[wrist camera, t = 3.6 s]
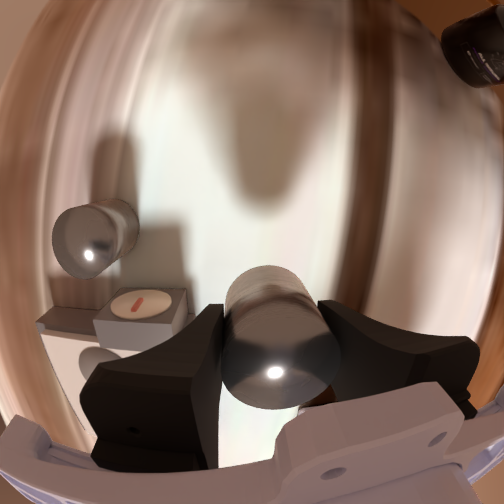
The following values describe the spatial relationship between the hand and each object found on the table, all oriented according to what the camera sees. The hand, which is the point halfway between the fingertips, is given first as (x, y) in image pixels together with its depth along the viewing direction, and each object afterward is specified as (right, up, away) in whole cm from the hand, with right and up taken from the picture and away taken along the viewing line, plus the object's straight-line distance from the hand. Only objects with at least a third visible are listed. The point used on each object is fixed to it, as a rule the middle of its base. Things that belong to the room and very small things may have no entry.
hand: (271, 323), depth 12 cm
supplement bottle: (+19, +22, +3) cm, 29 cm away
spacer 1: (-10, +5, +6) cm, 13 cm away
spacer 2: (0, 0, +2) cm, 2 cm away
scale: (-11, -7, +9) cm, 16 cm away
